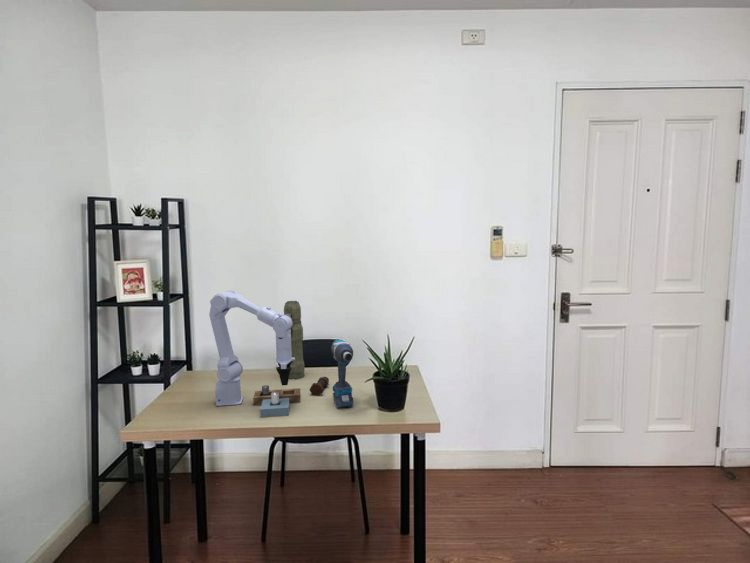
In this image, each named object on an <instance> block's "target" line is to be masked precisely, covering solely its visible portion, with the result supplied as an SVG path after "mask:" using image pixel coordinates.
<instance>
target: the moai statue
mask: <svg viewBox="0 0 750 563" xmlns="http://www.w3.org/2000/svg"><path fill="white" fill-rule="evenodd" d="M283 315H288V316H289V317H290V318H291V319H292V321H293V325H292V327H291V328H290V329H291V352H292V357H294V358H295V360H293V361H292V363H291V365H290V367H292V369H291V371H290V374H289V379H288V380H292V379H295V380H300V379H303V378H304V377H305V369H306V368H305V361H304V352H303V340H304V327H303V325H302V308H301V305H300V302H299V301H297V300H289V301H286V302H285V303H284V306H283Z"/></svg>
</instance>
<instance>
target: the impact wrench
mask: <svg viewBox="0 0 750 563" xmlns="http://www.w3.org/2000/svg"><path fill="white" fill-rule="evenodd" d="M330 348H331V355H332V357H333V359H334V361H336V362H337V376H338V381H336V382H335V383H334V384H333V386H332V391H333V392H332V397H333V403H334V404H335V406H336V408H337V409H343V408H353V406H354V397H353V387H352V385H351V384H350V383H349V382H348V381H346V376H347V374H346V373H347V364H349V363H351V361H352V360H353V357H354V349H353V348H352V346H351V344H350V342H349V341H345V340H343V339H339V338H338V339H335V340H333V342H332V344H331V347H330Z"/></svg>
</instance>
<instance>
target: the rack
mask: <svg viewBox="0 0 750 563" xmlns="http://www.w3.org/2000/svg"><path fill="white" fill-rule="evenodd" d="M273 392H278V393H279V399H281V398H289V403H290V404H294V403H295V404H297V403H301V388H282V389H269V395H268V396H262V390H255V391H254V395H253V397H252V402H253V406H261V405H262V401H263V400H265V399H271V393H273Z"/></svg>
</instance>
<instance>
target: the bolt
mask: <svg viewBox="0 0 750 563" xmlns="http://www.w3.org/2000/svg"><path fill="white" fill-rule="evenodd" d="M329 380H330V379H329V377H327V376H321V377H319V378H318V380H317V381H316V382H314V383H312V384H311V386H310V388H309V393H310V394H311V395H312V396H314V397H319V396H321V395H322V394H323V392H324V390H325V389H326V388H327V387H328V385H329V383H330V381H329Z"/></svg>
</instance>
